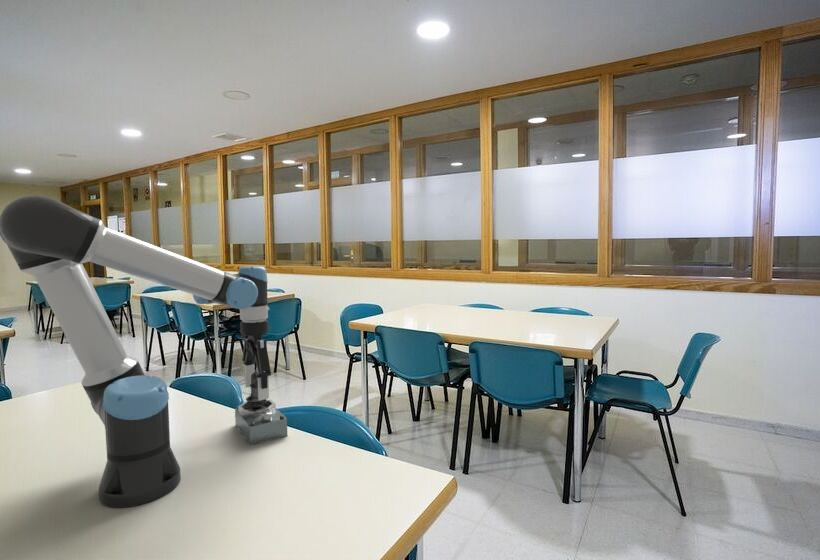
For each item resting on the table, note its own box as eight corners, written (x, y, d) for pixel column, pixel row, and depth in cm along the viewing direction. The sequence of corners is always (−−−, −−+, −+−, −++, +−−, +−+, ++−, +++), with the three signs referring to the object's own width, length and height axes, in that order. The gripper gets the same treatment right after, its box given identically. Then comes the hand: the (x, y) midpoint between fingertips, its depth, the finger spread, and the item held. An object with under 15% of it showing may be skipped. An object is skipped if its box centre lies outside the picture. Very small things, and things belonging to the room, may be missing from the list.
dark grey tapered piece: (271, 406, 129) (269, 366, 128) (262, 413, 123) (261, 372, 122) (252, 405, 130) (250, 366, 129) (242, 413, 124) (241, 372, 123)
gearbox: (287, 435, 121) (286, 411, 120) (250, 445, 115) (249, 419, 114) (269, 417, 134) (268, 395, 133) (235, 425, 128) (234, 401, 127)
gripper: (281, 325, 116) (283, 402, 118) (255, 313, 137) (257, 379, 138) (253, 328, 112) (255, 408, 114) (230, 315, 132) (232, 383, 134)
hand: (256, 392), depth 126 cm, fingers open, 13 cm apart
